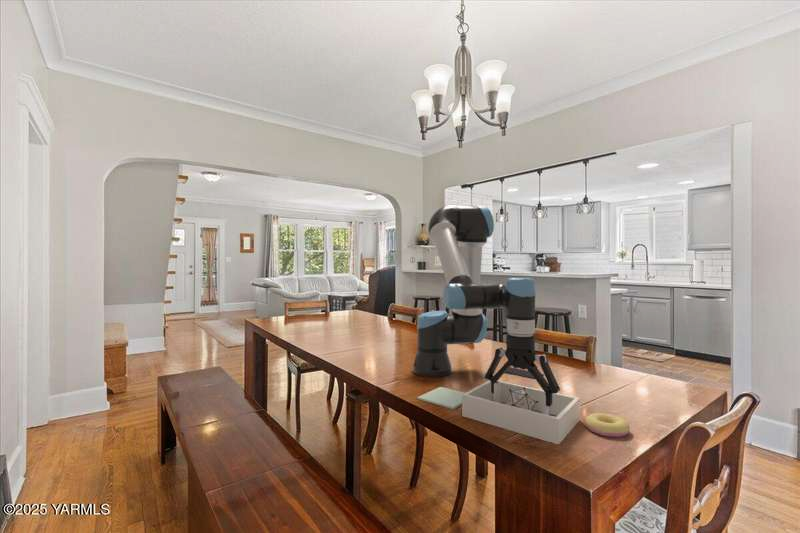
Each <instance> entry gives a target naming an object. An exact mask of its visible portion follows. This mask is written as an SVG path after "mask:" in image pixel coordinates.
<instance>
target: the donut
mask: <svg viewBox="0 0 800 533" xmlns="http://www.w3.org/2000/svg"><path fill="white" fill-rule="evenodd" d="M584 423H585V427H587V429H588V430H590V431H591V432H593V433H595V434H597V435H600V436H604V437H609V438H621V437H624V436H627V435H628V434H629V432H630V425H629V423H628V422H627V421H626V420H625V419H624V418H622V417H620V416H617V415H614V414H610V413H604V412H594V413H591V414H589V415H587V416H586V417H585V419H584Z"/></svg>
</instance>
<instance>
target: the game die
mask: <svg viewBox="0 0 800 533" xmlns="http://www.w3.org/2000/svg"><path fill="white" fill-rule="evenodd" d="M525 387H526V386H525ZM525 387H524V388H523V390H517V391H511V389H509V391H510V394H509V396H508V399H507V401H506V403H505V404H507V405H511V406H515V407H519V408H523V409H527V410H531V411H534V410H533V408H534V406H535V403H538V402H539V401H534V399H533V398H532V397H531V396H530V395H529V394H528V393H527V392H526V391H525Z"/></svg>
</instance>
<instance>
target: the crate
mask: <svg viewBox="0 0 800 533" xmlns="http://www.w3.org/2000/svg"><path fill="white" fill-rule="evenodd" d="M498 381H500V382H501V403H499V402H495V401H494V393H492V392H491V381H490V380H488V381H486V382H484V383H482V384H480V385H478V386H476V387H474V388H472V389H470V390H469V391H467V392H464V394H463V395H462V406H461V414H462V415H461V416H462V417H464V418H467V419H471V420H473V421H474V420H475V421H477V422H481V423H485V424H488V425H490V426H495V427H498V428H502V429H503V430H504V429H505V430H508V431H511V432H515V433H518V434H522V435H524V436H529V437H532V438H536V439H537V440H538V439H539V440H542V441H545V442H547V443H551V442H552V444H555V445H558V444H559V445H560V444H561V443H562V442H563V441H564V440H565V438H566V437H567V436H568V435H569V434H570V432H571V431H572V430H573V429H574V428H575V426H576V425H577V424H578V423H579V421H580V418H581V408H580V407H581V406H580V405H581V398H580V397H578V396H577V397H576V396H572V395H566V394H561V393H559V392H557V393H556V394H555V393H553V394H552V405H551V406H550V407H549V415H546V414H542V394H543V393H544V390H543V389H539V388H534V387H530V386H524V385H520V384H514V383H511V382H506V381H501V380H497V382H498ZM524 387H525V391H526V392H527V393H528V394H529V395H530V396H531V397H532V398H533V399H534V401H539V402H538V403H535V406H534V408H533V411H531V410H527V409H523V408H519V407H515V406H511V405H507V404H506V401H507V399H508V396H509V394H510V391H509V389H511V391H517V390H523V388H524ZM567 434H568V435H567ZM561 441H562V442H561Z"/></svg>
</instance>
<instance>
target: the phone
mask: <svg viewBox="0 0 800 533" xmlns="http://www.w3.org/2000/svg"><path fill="white" fill-rule="evenodd" d="M504 374H508V375H512V376H517V375H518V376H517V377H522V378H528V379H531V380H536V379H535V378H534V377H533V375H532V374H531V373H530V372H529V371H528V370H527V369H525V370H524V369H521V368H514V367H513V366H511V367H510V368H509V369H508V370H507V371H506V372H505V373H504ZM541 374H542V375H543V377H544V376H545V374H544V373H541Z"/></svg>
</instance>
